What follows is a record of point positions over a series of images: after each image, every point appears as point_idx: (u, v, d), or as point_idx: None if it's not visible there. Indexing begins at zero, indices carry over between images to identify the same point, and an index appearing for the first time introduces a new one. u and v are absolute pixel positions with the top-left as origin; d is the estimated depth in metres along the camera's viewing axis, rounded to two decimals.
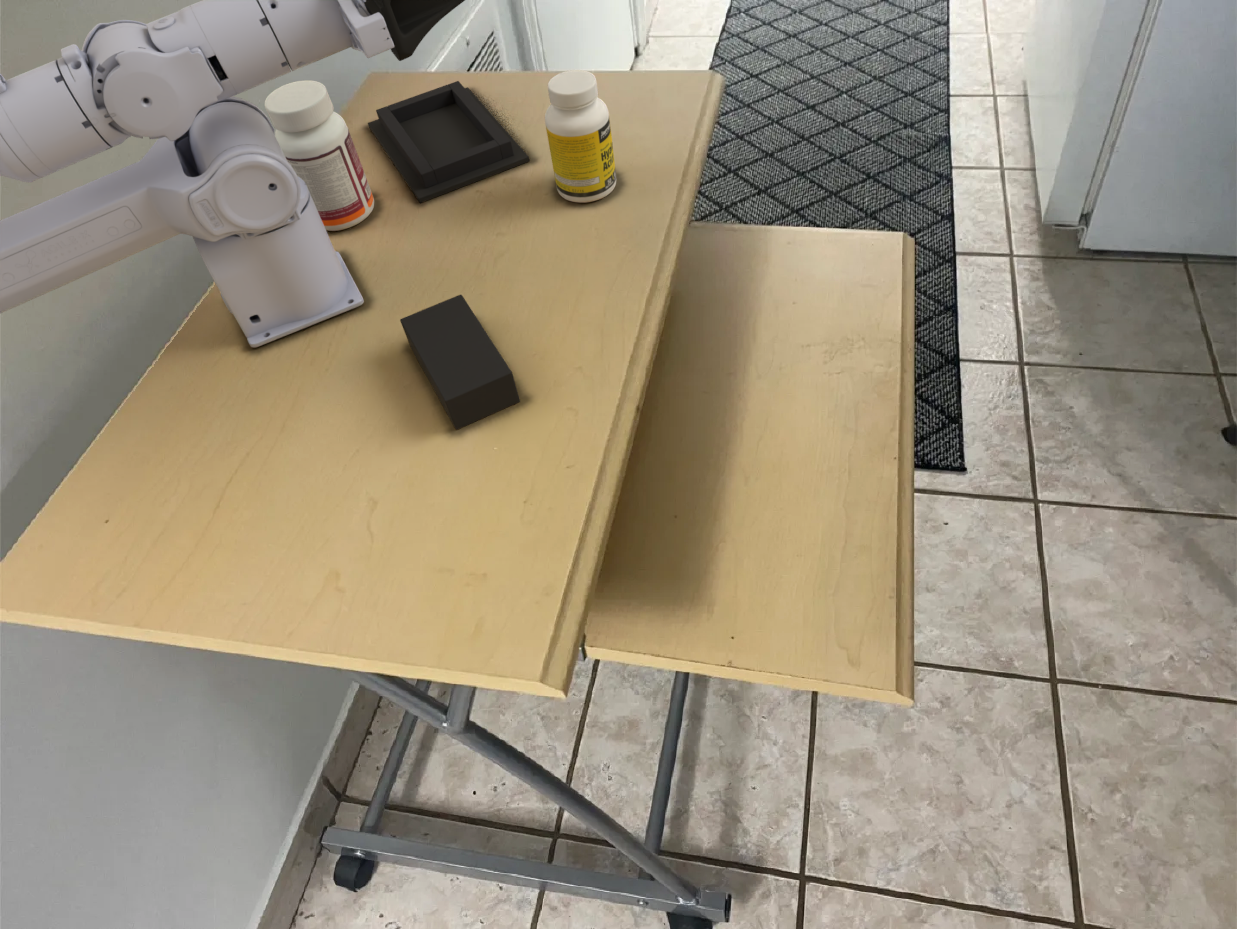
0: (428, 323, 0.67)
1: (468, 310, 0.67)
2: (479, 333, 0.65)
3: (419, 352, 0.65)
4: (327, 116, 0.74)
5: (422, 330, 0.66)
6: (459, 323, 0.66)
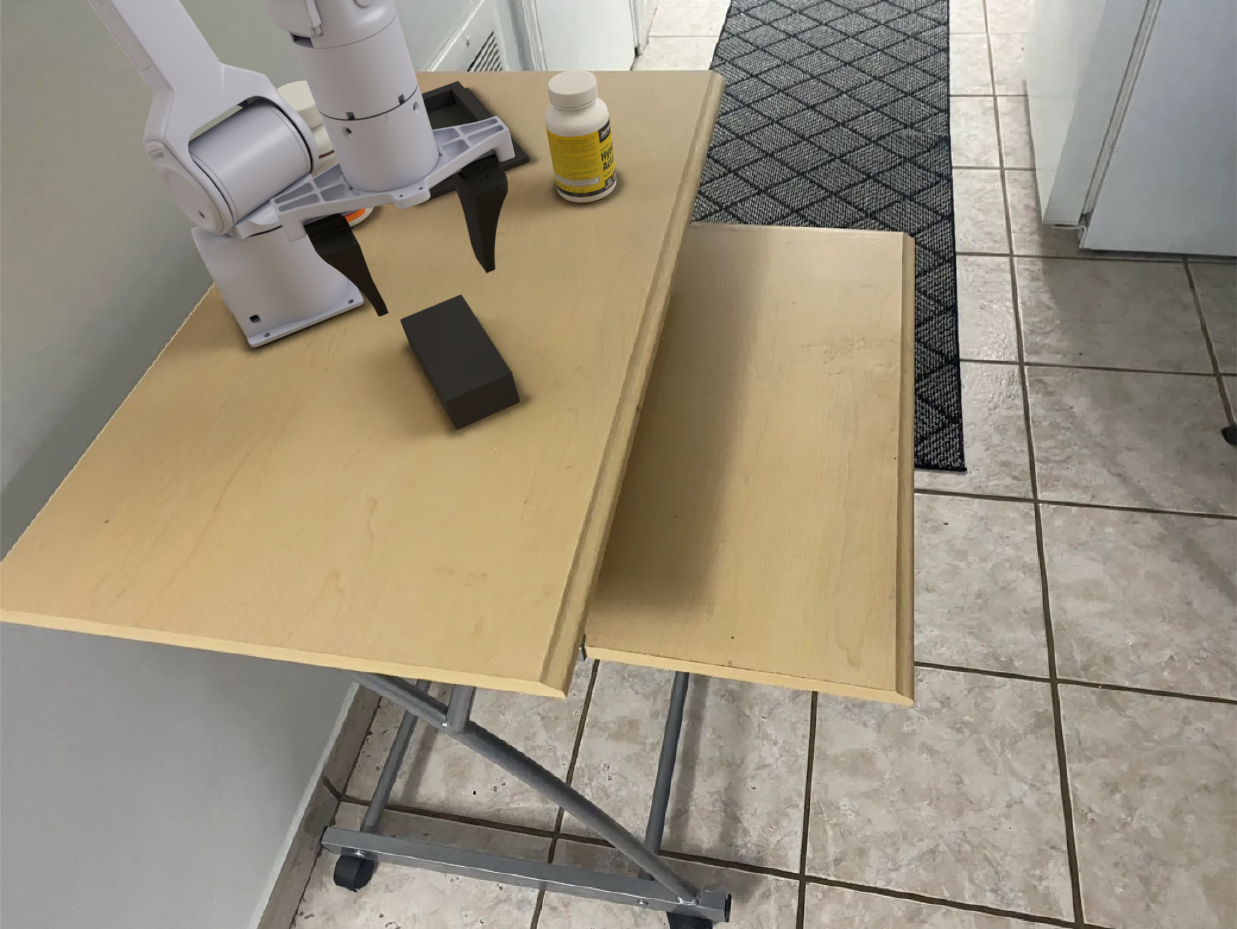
0: (428, 323, 0.67)
1: (468, 310, 0.67)
2: (479, 333, 0.65)
3: (419, 352, 0.65)
4: None
5: (422, 330, 0.66)
6: (459, 323, 0.66)
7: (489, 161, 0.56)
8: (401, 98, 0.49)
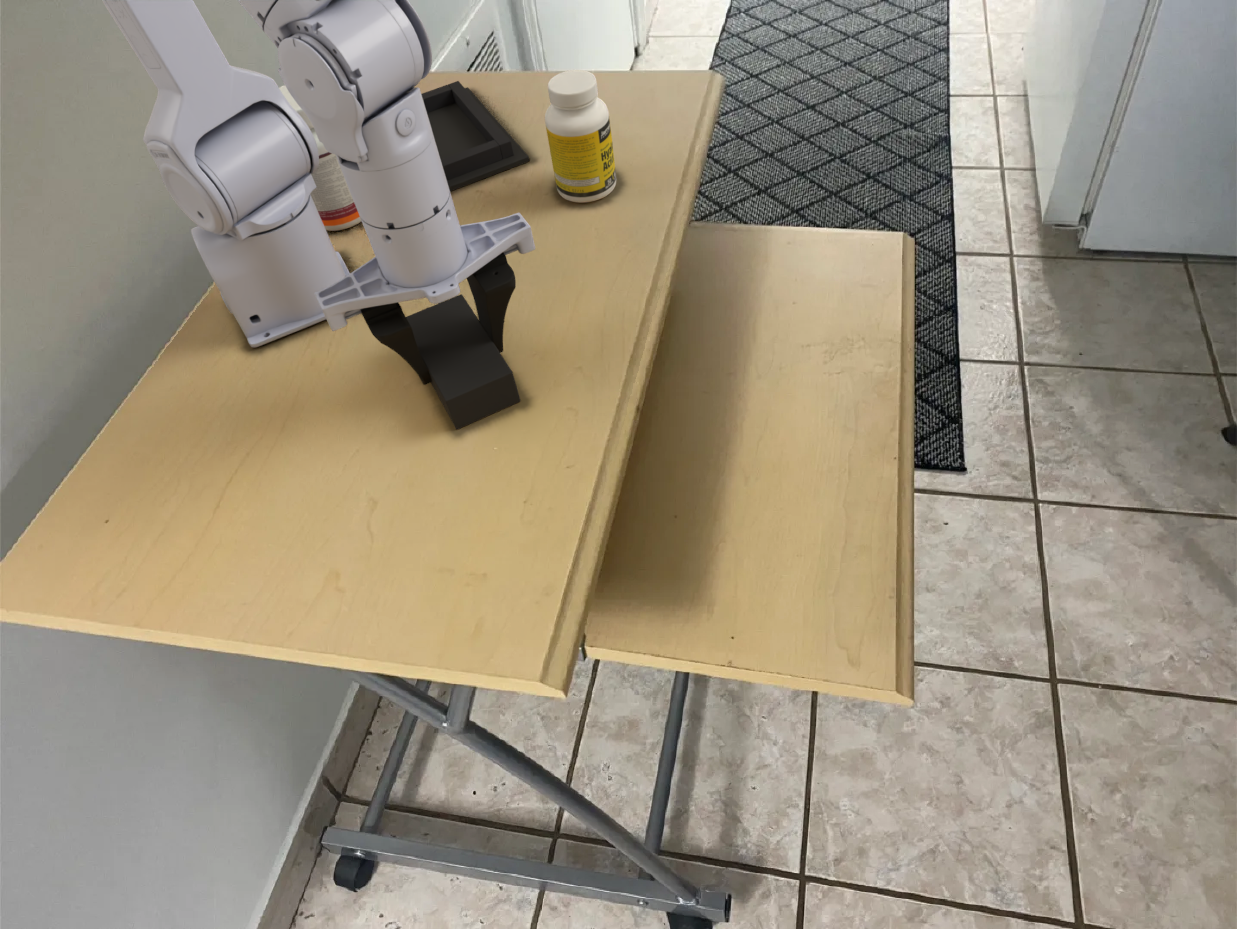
0: (429, 323, 0.67)
1: (468, 310, 0.67)
2: (479, 333, 0.65)
3: None
4: None
5: (422, 330, 0.66)
6: (460, 322, 0.66)
7: (498, 259, 0.61)
8: (435, 208, 0.54)
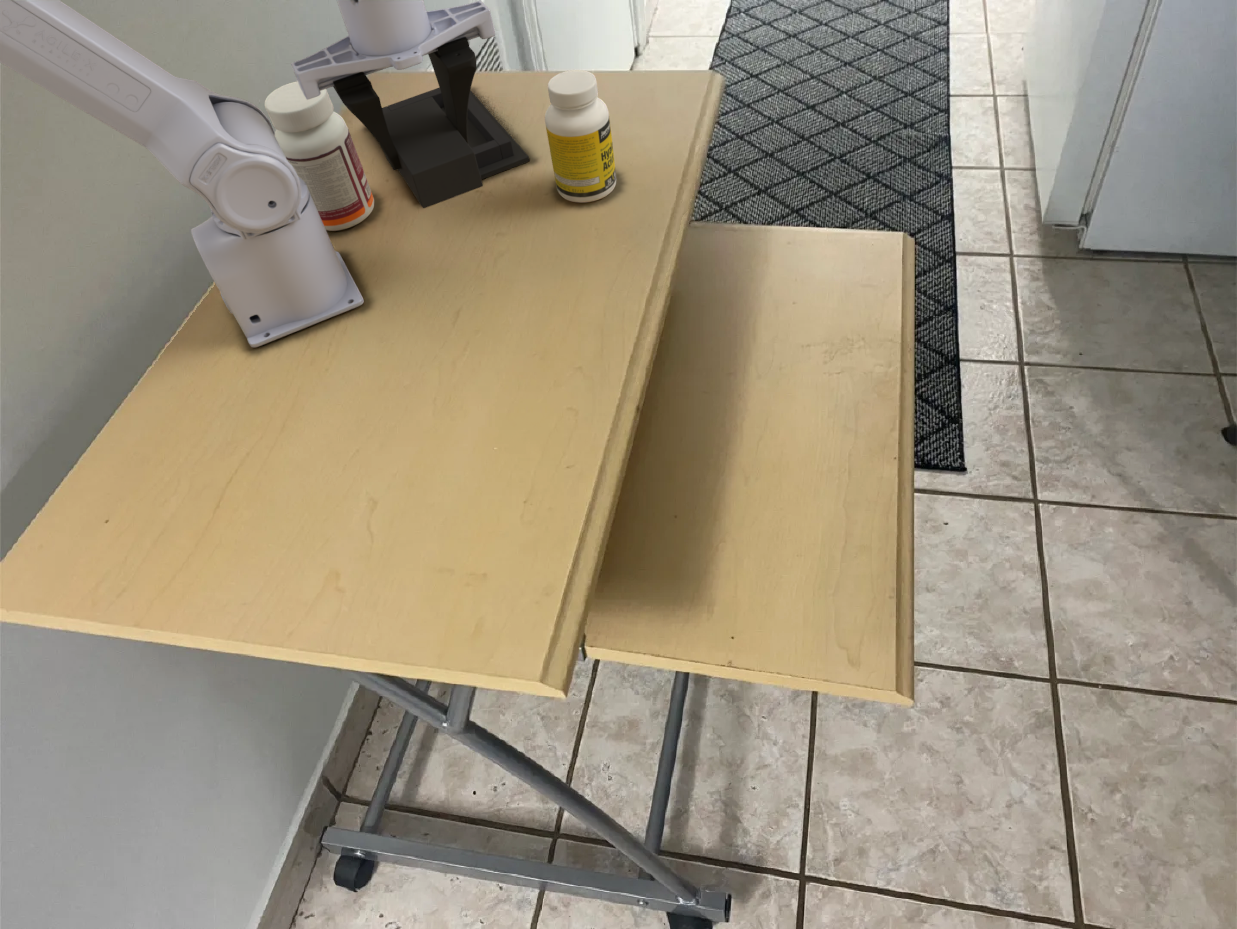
0: (400, 118, 0.72)
1: (437, 108, 0.72)
2: (446, 124, 0.71)
3: None
4: (327, 116, 0.74)
5: (394, 124, 0.72)
6: (429, 117, 0.72)
7: (461, 42, 0.66)
8: None
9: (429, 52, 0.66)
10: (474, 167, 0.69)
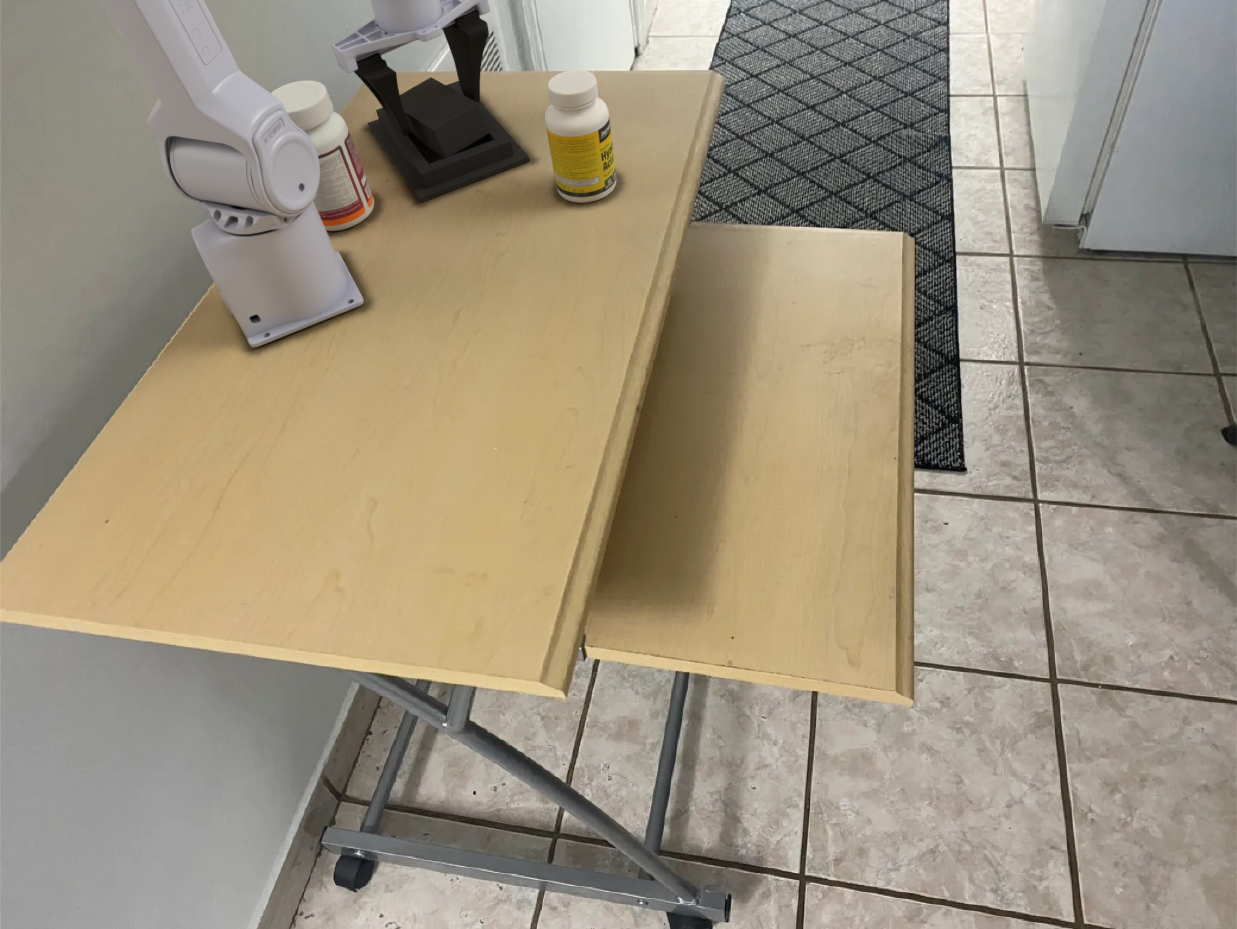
0: (410, 97, 0.87)
1: (438, 83, 0.87)
2: (449, 91, 0.85)
3: (407, 112, 0.85)
4: (327, 116, 0.74)
5: (406, 102, 0.86)
6: (433, 90, 0.86)
7: (473, 14, 0.81)
8: None
9: None
10: (480, 117, 0.83)
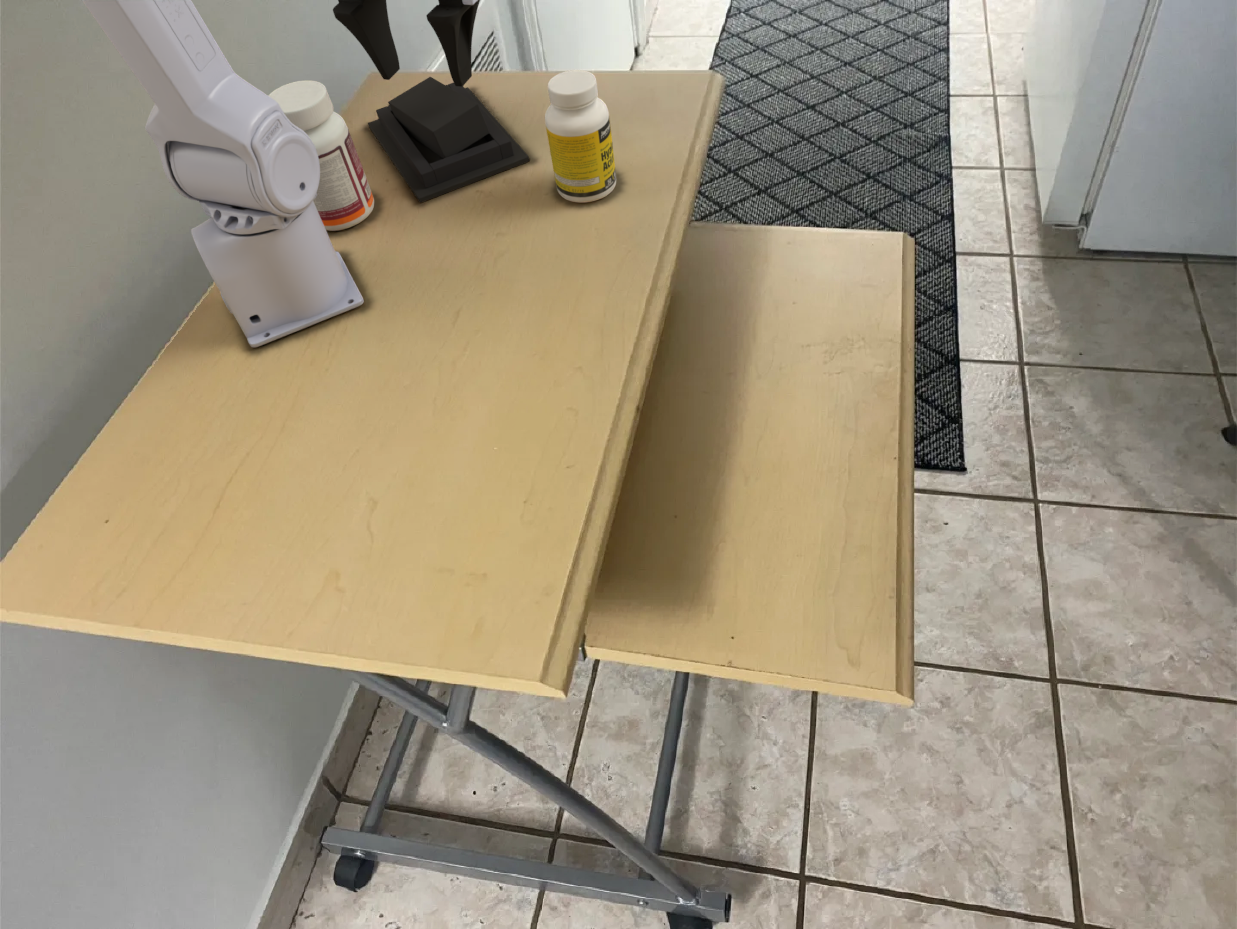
0: (409, 97, 0.87)
1: (437, 82, 0.87)
2: (449, 91, 0.85)
3: (407, 113, 0.85)
4: (327, 116, 0.74)
5: (406, 102, 0.86)
6: (433, 90, 0.86)
7: None
8: None
9: None
10: (480, 117, 0.83)
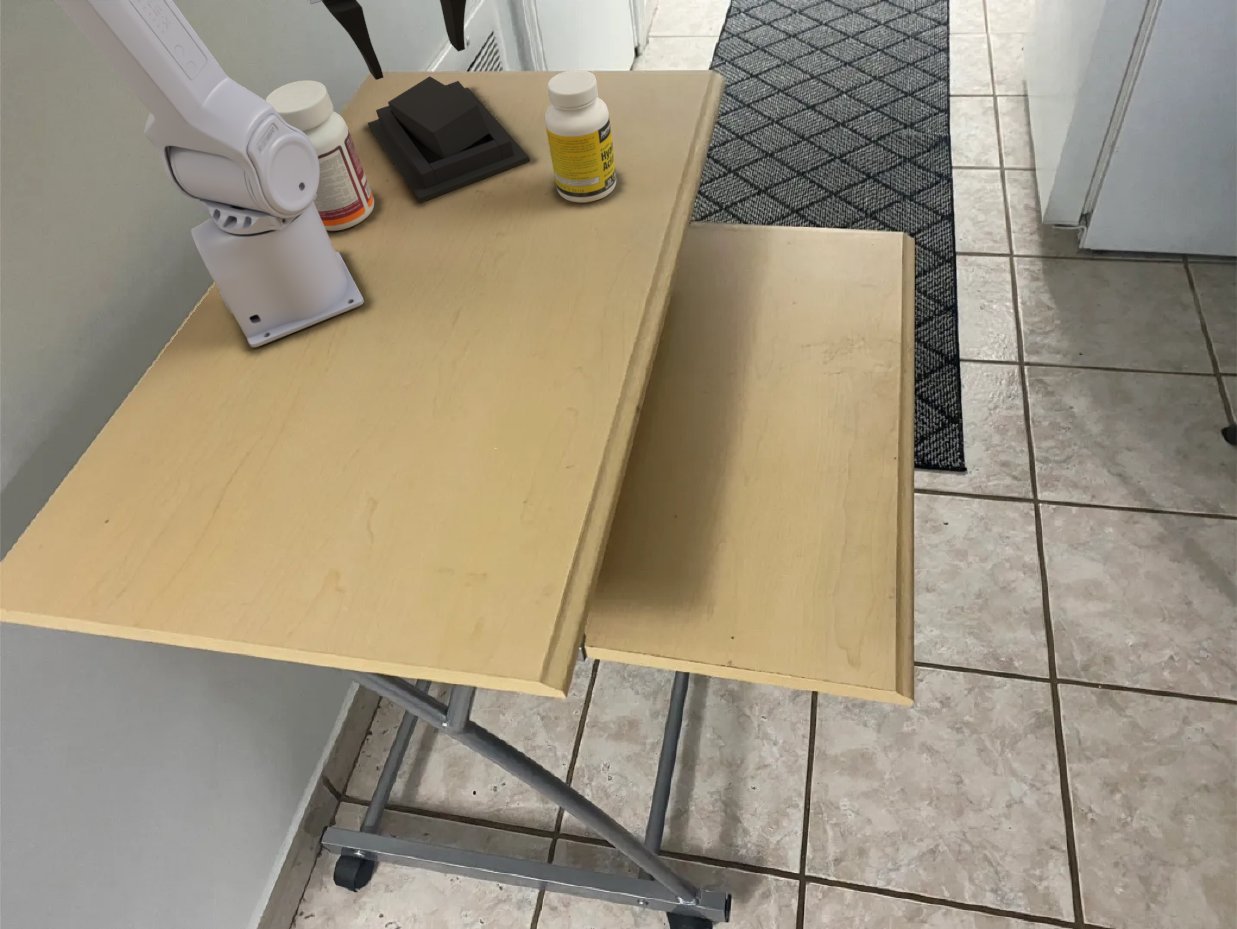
0: (409, 97, 0.87)
1: (437, 82, 0.87)
2: (448, 91, 0.85)
3: (407, 114, 0.85)
4: (327, 116, 0.74)
5: (406, 102, 0.86)
6: (432, 90, 0.86)
7: None
8: None
9: None
10: (480, 117, 0.83)
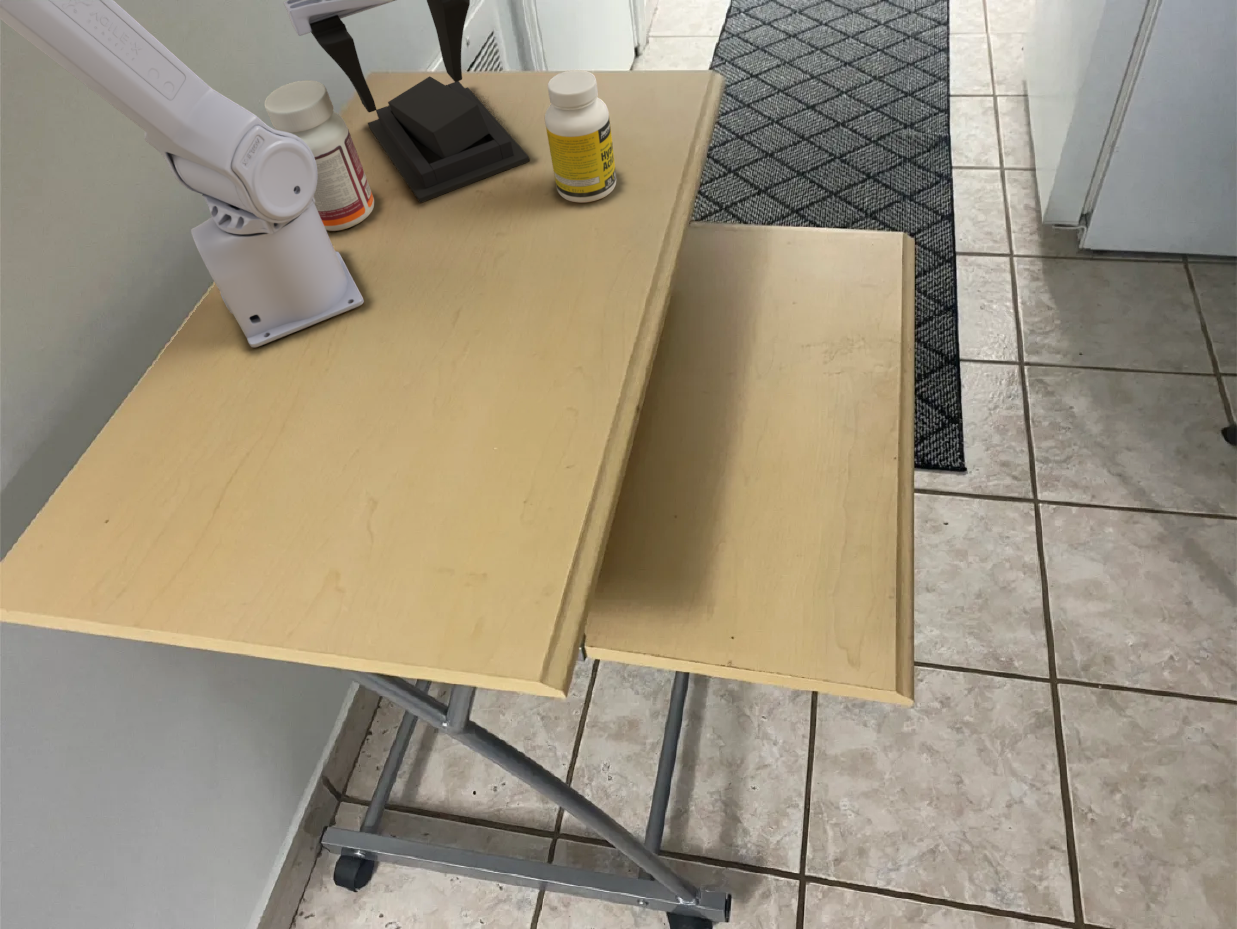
0: (409, 97, 0.87)
1: (437, 82, 0.87)
2: (448, 91, 0.85)
3: (407, 114, 0.85)
4: (327, 116, 0.74)
5: (406, 102, 0.86)
6: (432, 90, 0.86)
7: None
8: None
9: (356, 8, 0.70)
10: (480, 117, 0.83)
